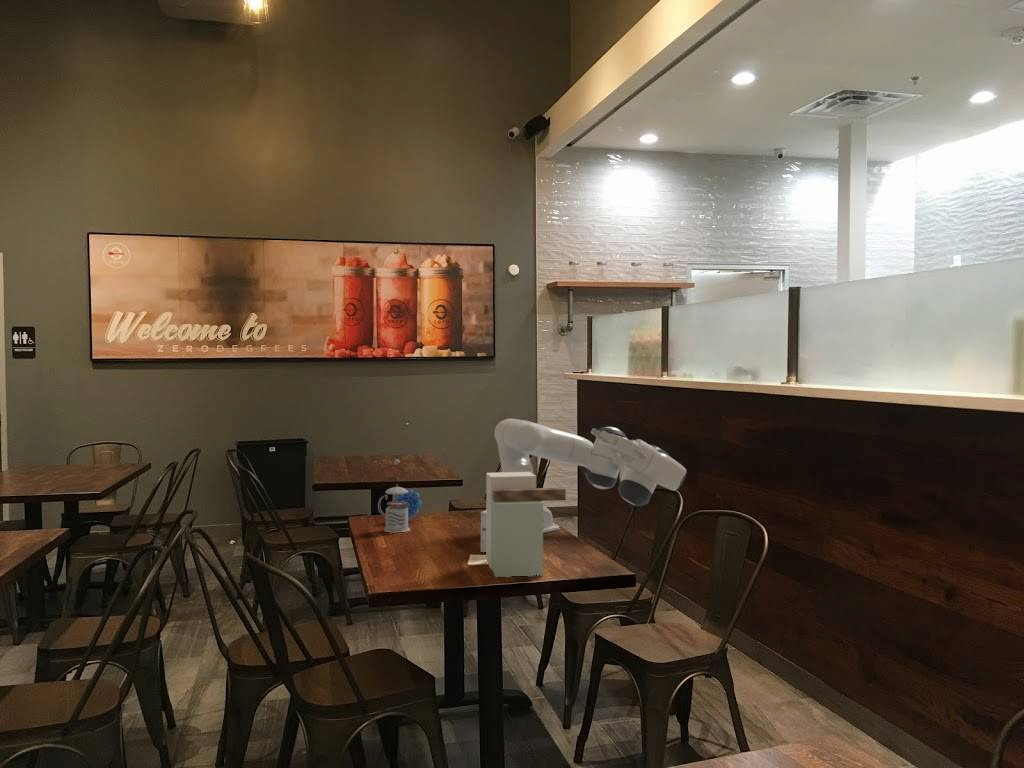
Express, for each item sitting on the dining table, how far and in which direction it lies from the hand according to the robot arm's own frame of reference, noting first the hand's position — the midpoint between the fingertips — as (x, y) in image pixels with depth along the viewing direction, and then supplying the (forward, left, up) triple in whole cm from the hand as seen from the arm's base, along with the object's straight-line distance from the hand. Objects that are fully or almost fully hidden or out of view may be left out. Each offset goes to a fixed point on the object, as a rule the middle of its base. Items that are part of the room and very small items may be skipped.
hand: (596, 431), depth 222 cm
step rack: (+22, -10, -38) cm, 45 cm away
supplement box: (+15, -30, -39) cm, 51 cm away
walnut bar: (+21, -4, -18) cm, 28 cm away
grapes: (+16, -89, -39) cm, 99 cm away
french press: (+27, -76, -39) cm, 90 cm away
